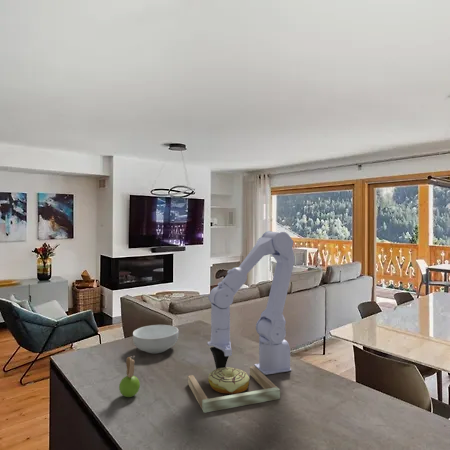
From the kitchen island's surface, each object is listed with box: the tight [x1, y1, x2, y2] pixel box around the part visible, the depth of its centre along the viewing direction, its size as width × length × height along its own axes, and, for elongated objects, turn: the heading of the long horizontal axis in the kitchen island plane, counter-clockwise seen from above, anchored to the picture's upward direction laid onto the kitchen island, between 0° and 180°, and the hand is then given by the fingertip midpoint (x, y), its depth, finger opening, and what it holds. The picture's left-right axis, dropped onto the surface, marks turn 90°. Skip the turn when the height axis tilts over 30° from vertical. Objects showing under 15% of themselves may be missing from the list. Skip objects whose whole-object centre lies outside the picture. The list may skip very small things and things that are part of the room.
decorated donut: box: [207, 366, 251, 395], centre depth 103 cm, size 11×12×4 cm
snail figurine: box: [118, 355, 141, 398], centre depth 97 cm, size 5×6×12 cm
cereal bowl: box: [132, 324, 179, 354], centre depth 133 cm, size 17×17×7 cm
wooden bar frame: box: [187, 365, 281, 413], centre depth 100 cm, size 21×16×2 cm
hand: (220, 371), depth 109 cm, fingers closed
